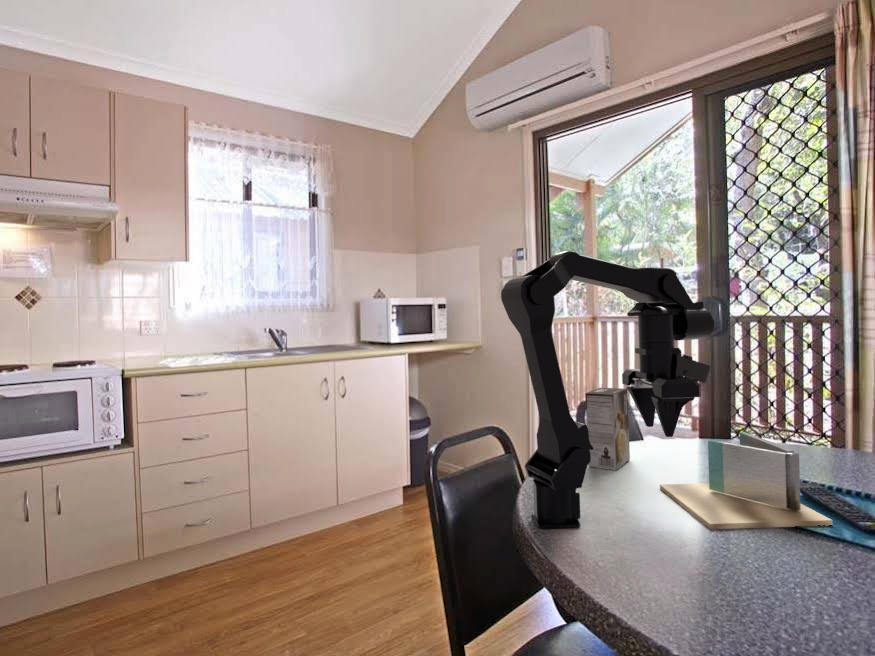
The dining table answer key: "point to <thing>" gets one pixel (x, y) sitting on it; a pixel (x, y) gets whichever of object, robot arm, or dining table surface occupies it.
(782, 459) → the jaw
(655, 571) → the dining table surface
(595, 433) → the coffee box
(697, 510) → the base
